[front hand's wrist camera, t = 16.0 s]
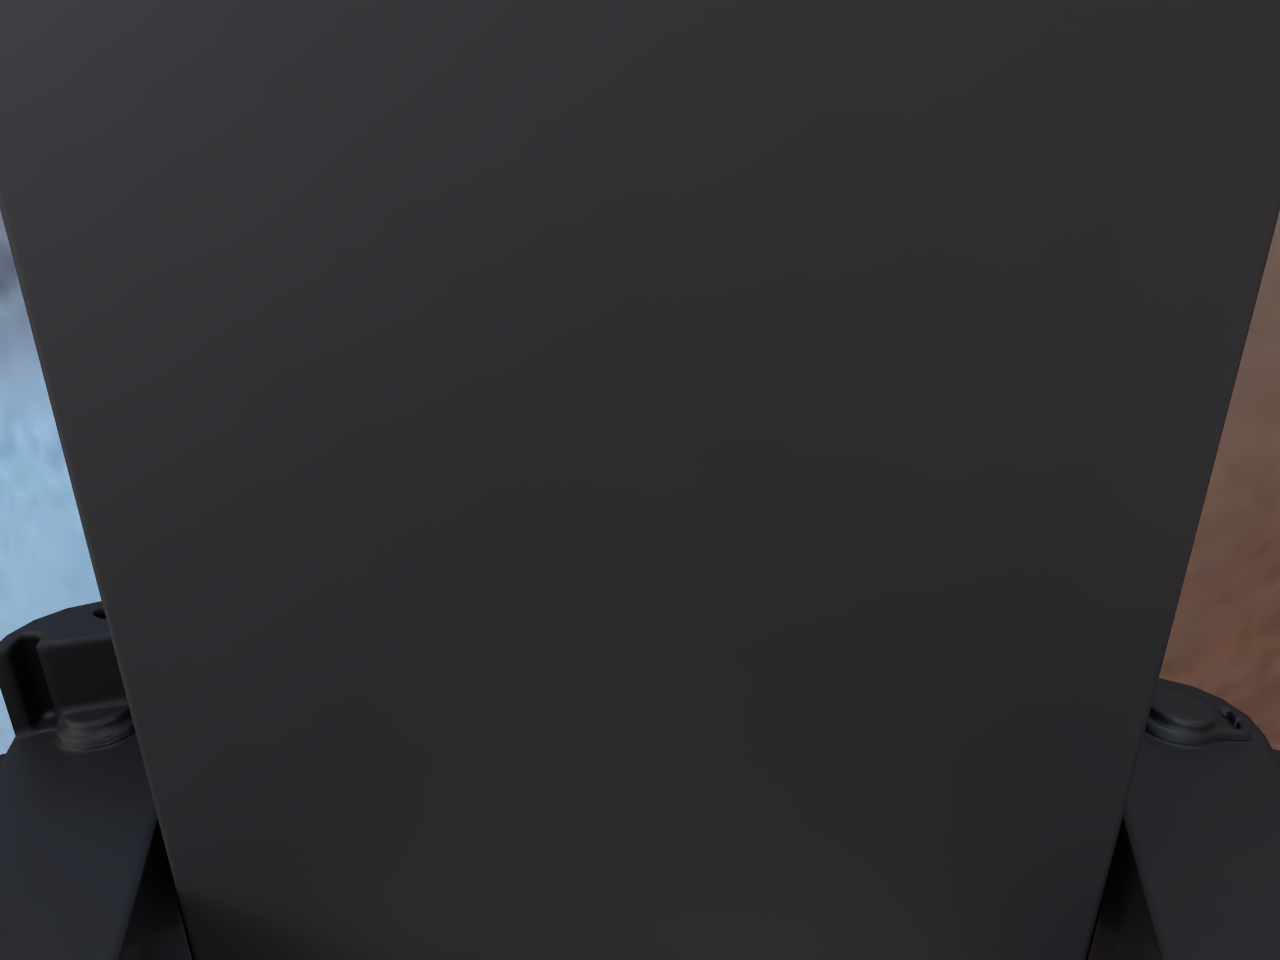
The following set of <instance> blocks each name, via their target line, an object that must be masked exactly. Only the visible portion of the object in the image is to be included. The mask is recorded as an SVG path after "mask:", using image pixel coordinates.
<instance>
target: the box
mask: <svg viewBox="0 0 1280 960" xmlns="http://www.w3.org/2000/svg"><path fill="white" fill-rule="evenodd" d="M0 209H1V213H2V217H3V221H4V225H5V229H6V233H7V236H8V240H9V244H10V248H11V252H12V256H13V260H14V263H15V267H16V271H17V275H18V279H19V283H20V287H21V291H22V294H23V298H24V302H25V306H26V310H27V314H28V318H29V321H30V325H31V329H32V333H33V337H34V341H35V345H36V349H37V352H38V356H39V360H40V364H41V368H42V372H43V376H44V379H45V383H46V387H47V391H48V395H49V399H50V403H51V407H52V410H53V414H54V418H55V422H56V426H57V430H58V434H59V438H60V441H61V445H62V449H63V453H64V457H65V461H66V465H67V468H68V472H69V476H70V480H71V484H72V488H73V492H74V496H75V499H76V503H77V507H78V511H79V515H80V519H81V523H82V526H83V530H84V534H85V538H86V542H87V546H88V550H89V554H90V557H91V561H92V565H93V569H94V573H95V577H96V581H97V585H98V588H99V592H100V596H101V600H102V604H103V608H104V612H105V615H106V619H107V623H108V627H109V631H110V635H111V639H112V643H113V646H114V650H115V654H116V658H117V662H118V666H119V670H120V673H121V677H122V681H123V685H124V689H125V693H126V697H127V701H128V704H129V708H130V712H131V716H132V720H133V724H134V728H135V731H136V735H137V739H138V743H139V747H140V751H141V755H142V759H143V762H144V766H145V770H146V774H147V778H148V782H149V786H150V790H151V793H152V797H153V801H154V805H155V809H156V813H157V817H158V820H159V824H160V828H161V832H162V836H163V840H164V844H165V848H166V851H167V855H168V859H169V863H170V867H171V871H172V875H173V878H174V882H175V886H176V890H177V894H178V898H179V902H180V906H181V909H182V913H183V917H184V921H185V925H186V929H187V933H188V936H189V940H190V944H191V948H192V952H193V956H194V960H1086V956H1087V952H1088V949H1089V945H1090V941H1091V937H1092V933H1093V929H1094V925H1095V922H1096V918H1097V914H1098V910H1099V906H1100V902H1101V898H1102V894H1103V891H1104V887H1105V883H1106V879H1107V875H1108V871H1109V867H1110V864H1111V860H1112V856H1113V852H1114V848H1115V844H1116V840H1117V837H1118V833H1119V829H1120V825H1121V821H1122V817H1123V813H1124V809H1125V806H1126V802H1127V798H1128V794H1129V790H1130V786H1131V782H1132V779H1133V775H1134V771H1135V767H1136V763H1137V759H1138V755H1139V751H1140V748H1141V744H1142V740H1143V736H1144V732H1145V728H1146V724H1147V721H1148V717H1149V713H1150V709H1151V705H1152V701H1153V697H1154V693H1155V690H1156V686H1157V682H1158V678H1159V674H1160V670H1161V666H1162V663H1163V659H1164V655H1165V651H1166V647H1167V643H1168V639H1169V636H1170V632H1171V628H1172V624H1173V620H1174V616H1175V612H1176V608H1177V605H1178V601H1179V597H1180V593H1181V589H1182V585H1183V581H1184V578H1185V574H1186V570H1187V566H1188V562H1189V558H1190V554H1191V550H1192V547H1193V543H1194V539H1195V535H1196V531H1197V527H1198V523H1199V520H1200V516H1201V512H1202V508H1203V504H1204V500H1205V496H1206V492H1207V489H1208V485H1209V481H1210V477H1211V473H1212V469H1213V465H1214V462H1215V458H1216V454H1217V450H1218V446H1219V442H1220V438H1221V435H1222V431H1223V427H1224V423H1225V419H1226V415H1227V411H1228V407H1229V404H1230V400H1231V396H1232V392H1233V388H1234V384H1235V380H1236V377H1237V373H1238V369H1239V365H1240V361H1241V357H1242V353H1243V349H1244V346H1245V342H1246V338H1247V334H1248V330H1249V326H1250V322H1251V319H1252V315H1253V311H1254V307H1255V303H1256V299H1257V295H1258V291H1259V288H1260V284H1261V280H1262V276H1263V272H1264V268H1265V264H1266V261H1267V257H1268V253H1269V249H1270V245H1271V241H1272V237H1273V234H1274V230H1275V226H1276V222H1277V218H1278V214H1279V210H1280V0H0Z"/></svg>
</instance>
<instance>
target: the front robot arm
mask: <svg viewBox="0 0 1280 960" xmlns="http://www.w3.org/2000/svg"><path fill="white" fill-rule="evenodd" d="M0 688H1V691H2V695H3V698H4V701H5V704H6V707H7V710H8V713H9V716H10V720H11V723H12V726H13V729H14V732H15V735H16V737H15V739H14V740H13V742H12V744H11V746H10V748H9V750H8V751H7V753H6V754H2V755H0V960H194V956H193V952H192V948H191V944H190V940H189V936H188V933H187V929H186V925H185V921H184V917H183V913H182V909H181V906H180V902H179V898H178V894H177V890H176V886H175V882H174V878H173V875H172V871H171V867H170V863H169V859H168V855H167V851H166V848H165V844H164V840H163V836H162V832H161V828H160V824H159V820H158V817H157V813H156V809H155V805H154V801H153V797H152V793H151V790H150V786H149V782H148V778H147V774H146V770H145V766H144V762H143V759H142V755H141V751H140V747H139V743H138V739H137V735H136V731H135V728H134V724H133V720H132V716H131V712H130V708H129V704H128V701H127V697H126V693H125V689H124V685H123V681H122V677H121V673H120V670H119V666H118V662H117V658H116V654H115V650H114V646H113V643H112V639H111V635H110V631H109V627H108V623H107V619H106V615H105V612H104V608H103V604H102V601H101V602H96V603H91V604H86V605H81V606H76V607H72V608H67V609H64V610H61V611H59V612H56V613H53V614H50V615H47V616H45V617H42V618H39V619H36V620H34V621H32V622H30V623H28V624H27V625H25V626H23V627H21V628H19V629H18V630H16V631H14V632H12V633H10V634H9V635H7V636H6V637H5V638H4V639H3V640H2V641H0ZM1086 960H1280V751H1278V750H1274V749H1272V748H1271V746H1270V744H1269V742H1268V740H1267V739H1266V737H1265V735H1264V734H1263V733H1262V732H1261V730H1260V729H1259V728H1258V727H1257V726H1256V725H1255V723H1254V722H1253V721H1252V720H1251V719H1250V718H1249V717H1248V716H1247V715H1246V714H1244V713H1243V712H1241V711H1240V710H1238V709H1237V708H1235V707H1234V706H1232V705H1230V704H1229V703H1227V702H1226V701H1224V700H1223V699H1221V698H1218V697H1216V696H1214V695H1211V694H1209V693H1207V692H1204V691H1202V690H1200V689H1197V688H1195V687H1192V686H1189V685H1185V684H1181V683H1177V682H1173V681H1168V680H1164V679H1160V678H1158V682H1157V686H1156V690H1155V693H1154V697H1153V701H1152V705H1151V709H1150V713H1149V717H1148V721H1147V724H1146V728H1145V732H1144V736H1143V740H1142V744H1141V748H1140V751H1139V755H1138V759H1137V763H1136V767H1135V771H1134V775H1133V779H1132V782H1131V786H1130V790H1129V794H1128V798H1127V802H1126V806H1125V809H1124V813H1123V817H1122V821H1121V825H1120V829H1119V833H1118V837H1117V840H1116V844H1115V848H1114V852H1113V856H1112V860H1111V864H1110V867H1109V871H1108V875H1107V879H1106V883H1105V887H1104V891H1103V894H1102V898H1101V902H1100V906H1099V910H1098V914H1097V918H1096V922H1095V925H1094V929H1093V933H1092V937H1091V941H1090V945H1089V949H1088V952H1087V956H1086Z"/></svg>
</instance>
